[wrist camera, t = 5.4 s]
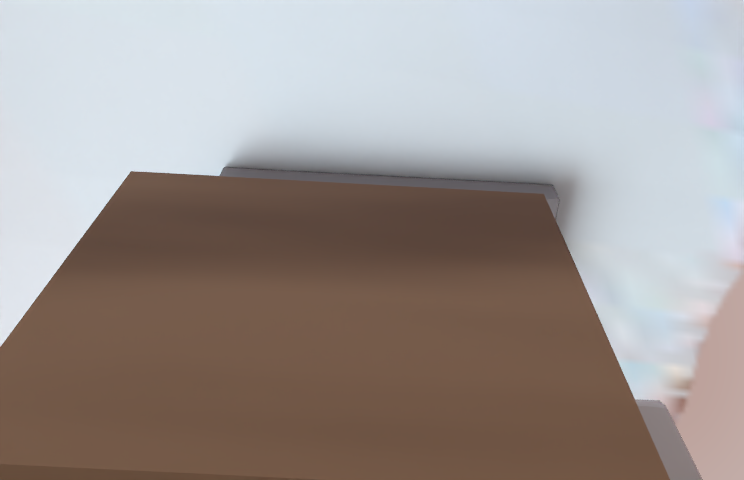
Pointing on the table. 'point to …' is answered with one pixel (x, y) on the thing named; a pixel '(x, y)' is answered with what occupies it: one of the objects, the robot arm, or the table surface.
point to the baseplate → (399, 182)
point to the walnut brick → (317, 342)
